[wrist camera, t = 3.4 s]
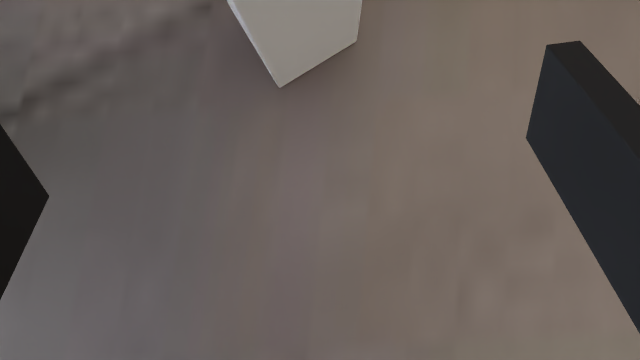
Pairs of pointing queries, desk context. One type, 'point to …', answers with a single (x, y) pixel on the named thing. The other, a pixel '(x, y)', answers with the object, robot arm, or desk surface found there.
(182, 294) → the desk surface
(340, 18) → the milk
